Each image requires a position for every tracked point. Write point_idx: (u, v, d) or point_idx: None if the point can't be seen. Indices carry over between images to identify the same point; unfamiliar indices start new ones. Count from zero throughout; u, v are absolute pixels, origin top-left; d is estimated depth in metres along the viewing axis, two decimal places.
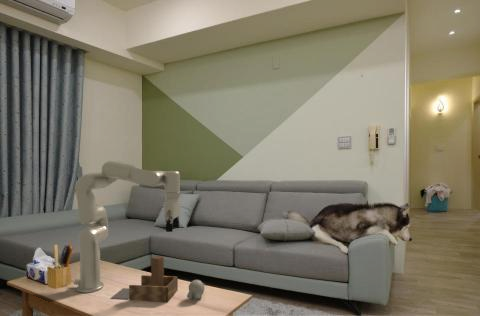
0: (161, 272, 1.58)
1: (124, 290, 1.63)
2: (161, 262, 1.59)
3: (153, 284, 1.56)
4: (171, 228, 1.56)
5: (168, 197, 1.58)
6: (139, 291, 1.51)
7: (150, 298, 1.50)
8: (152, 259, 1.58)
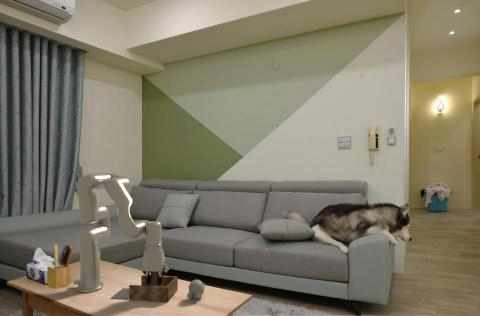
0: None
1: (124, 290, 1.63)
2: None
3: (153, 284, 1.56)
4: None
5: (160, 248, 1.56)
6: (139, 291, 1.51)
7: (150, 298, 1.50)
8: None
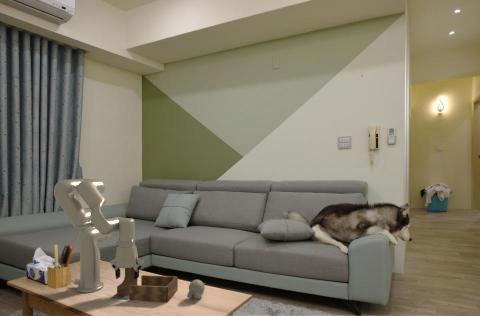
0: None
1: None
2: None
3: (126, 283, 1.58)
4: None
5: (133, 245, 1.58)
6: (139, 291, 1.51)
7: (150, 298, 1.50)
8: None
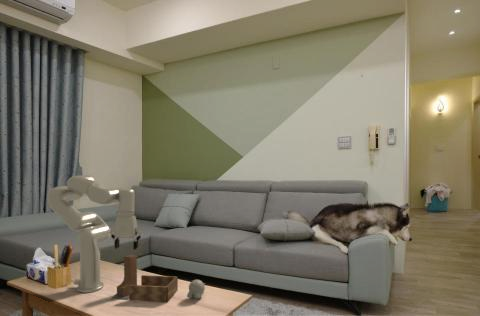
0: (134, 270, 1.61)
1: None
2: (134, 260, 1.61)
3: (126, 283, 1.58)
4: None
5: (132, 215, 1.58)
6: (139, 291, 1.51)
7: (150, 298, 1.50)
8: (125, 257, 1.60)
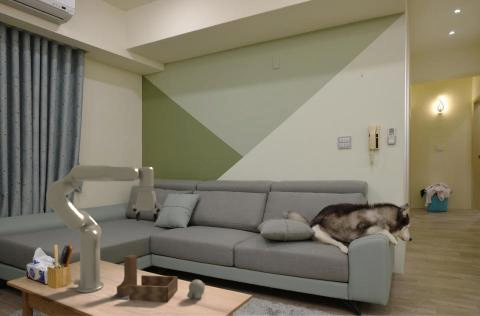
0: (134, 270, 1.61)
1: None
2: (134, 260, 1.61)
3: (126, 283, 1.58)
4: None
5: (152, 190, 1.75)
6: (139, 291, 1.51)
7: (150, 298, 1.50)
8: (125, 258, 1.60)
